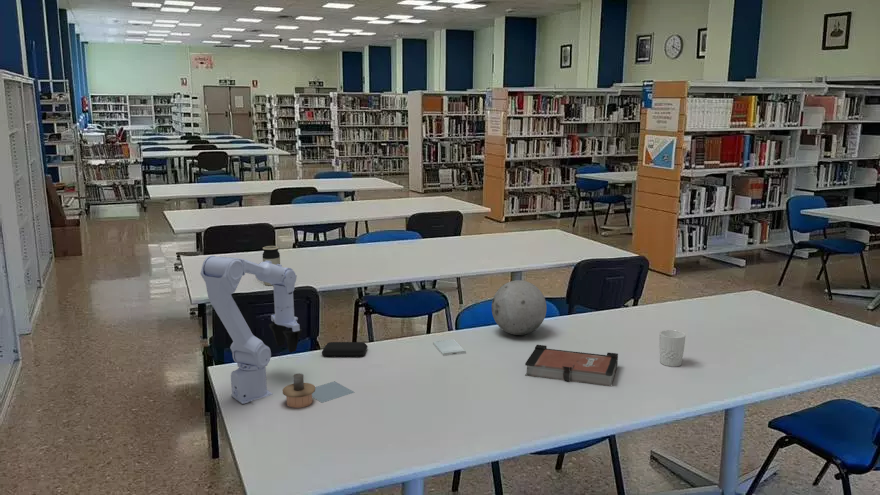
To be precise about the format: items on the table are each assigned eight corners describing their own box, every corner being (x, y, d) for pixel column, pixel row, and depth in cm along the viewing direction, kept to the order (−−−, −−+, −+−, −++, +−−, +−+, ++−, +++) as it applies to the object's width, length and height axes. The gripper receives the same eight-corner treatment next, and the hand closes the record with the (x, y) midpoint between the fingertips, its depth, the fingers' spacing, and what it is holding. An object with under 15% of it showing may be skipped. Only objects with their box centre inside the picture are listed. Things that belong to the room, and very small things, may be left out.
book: (524, 377, 209) (524, 362, 208) (536, 358, 225) (536, 344, 224) (611, 389, 200) (612, 373, 199) (617, 368, 216) (618, 353, 215)
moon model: (557, 335, 247) (558, 282, 243) (515, 346, 236) (516, 291, 232) (521, 322, 263) (522, 272, 259) (480, 331, 252) (480, 279, 248)
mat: (321, 404, 190) (321, 402, 190) (302, 392, 198) (302, 390, 198) (354, 393, 197) (354, 392, 197) (334, 382, 205) (334, 381, 205)
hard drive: (432, 341, 239) (442, 352, 227) (455, 339, 241) (466, 350, 229) (433, 345, 239) (442, 357, 227) (455, 343, 241) (466, 354, 230)
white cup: (687, 362, 219) (689, 333, 217) (677, 369, 214) (679, 339, 212) (664, 357, 224) (666, 328, 223) (653, 363, 219) (655, 334, 217)
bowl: (294, 411, 186) (293, 398, 185) (282, 403, 191) (281, 390, 190) (316, 404, 190) (316, 391, 189) (304, 396, 195) (303, 383, 195)
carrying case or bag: (368, 348, 236) (327, 347, 237) (368, 339, 236) (326, 339, 236) (364, 358, 226) (320, 358, 227) (364, 350, 225) (320, 350, 226)
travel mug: (279, 286, 321) (276, 248, 318) (262, 286, 321) (260, 249, 318) (283, 281, 329) (281, 245, 326) (266, 282, 329) (264, 245, 326)
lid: (292, 400, 184) (291, 384, 183) (276, 390, 190) (275, 375, 189) (321, 391, 189) (320, 375, 188) (304, 382, 196) (304, 367, 195)
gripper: (307, 308, 203) (309, 351, 205) (284, 298, 213) (286, 339, 216) (286, 312, 198) (288, 356, 201) (263, 302, 209) (266, 344, 212)
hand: (286, 348), depth 208 cm, fingers open, 7 cm apart
